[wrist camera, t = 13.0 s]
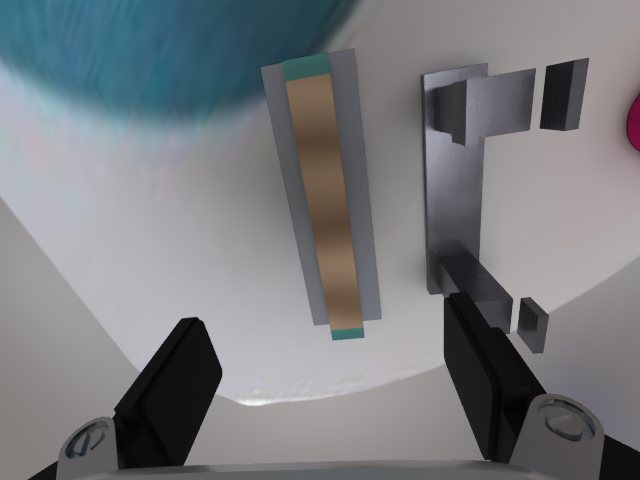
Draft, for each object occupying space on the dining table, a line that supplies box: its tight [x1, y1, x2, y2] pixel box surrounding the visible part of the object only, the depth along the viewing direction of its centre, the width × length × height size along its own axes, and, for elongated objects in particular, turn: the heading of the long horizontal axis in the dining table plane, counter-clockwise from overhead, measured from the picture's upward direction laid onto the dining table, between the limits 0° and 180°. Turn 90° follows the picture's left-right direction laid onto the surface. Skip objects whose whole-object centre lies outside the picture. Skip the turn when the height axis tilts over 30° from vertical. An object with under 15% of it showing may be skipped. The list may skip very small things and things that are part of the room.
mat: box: [260, 49, 382, 325], centre depth 27 cm, size 24×7×1 cm, turn 9°
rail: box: [282, 52, 364, 340], centre depth 25 cm, size 23×3×3 cm, turn 9°
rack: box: [421, 58, 589, 354], centre depth 22 cm, size 19×5×10 cm, turn 9°
